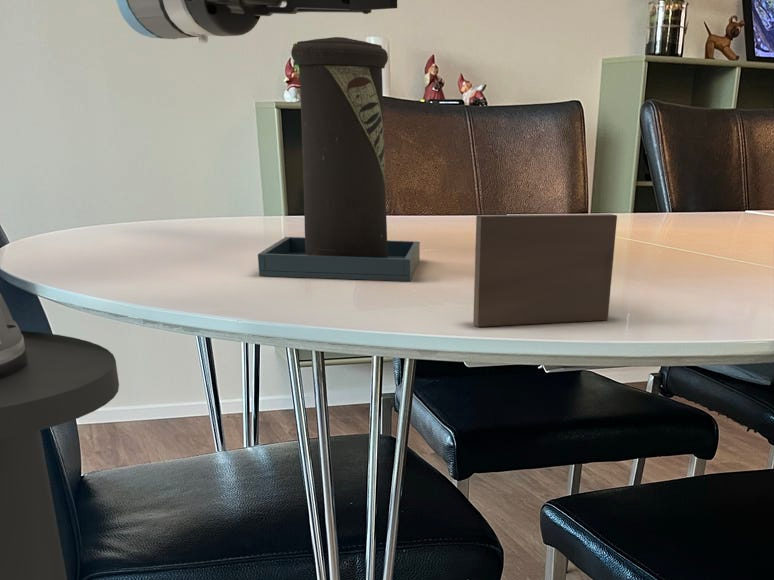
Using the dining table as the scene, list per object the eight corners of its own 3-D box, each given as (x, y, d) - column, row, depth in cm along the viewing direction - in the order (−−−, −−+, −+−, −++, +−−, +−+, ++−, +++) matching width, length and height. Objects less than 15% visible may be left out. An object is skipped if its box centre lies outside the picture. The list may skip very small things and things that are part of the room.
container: (377, 271, 98) (374, 35, 89) (290, 266, 99) (277, 32, 90) (398, 260, 106) (397, 41, 96) (317, 255, 107) (308, 39, 97)
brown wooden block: (608, 320, 82) (617, 215, 78) (478, 327, 77) (481, 216, 74) (526, 290, 94) (530, 198, 90) (409, 295, 89) (409, 198, 86)
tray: (259, 275, 96) (257, 254, 96) (286, 256, 109) (285, 236, 108) (410, 281, 97) (410, 259, 96) (419, 260, 110) (419, 241, 109)
